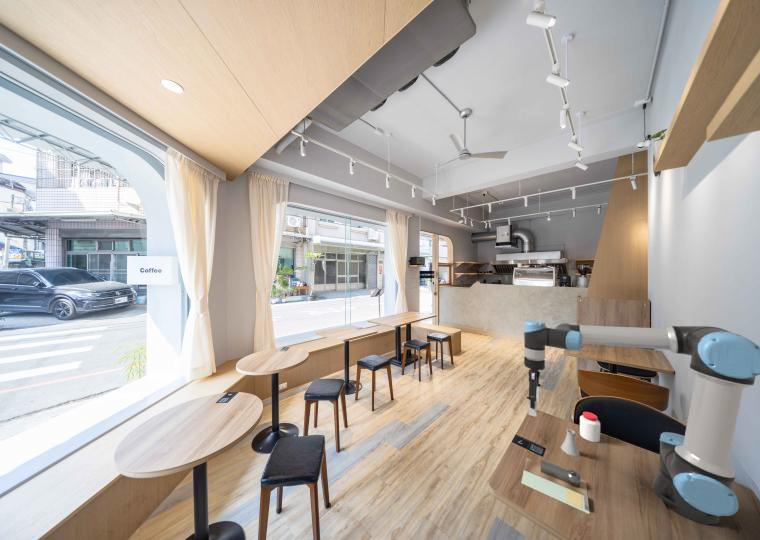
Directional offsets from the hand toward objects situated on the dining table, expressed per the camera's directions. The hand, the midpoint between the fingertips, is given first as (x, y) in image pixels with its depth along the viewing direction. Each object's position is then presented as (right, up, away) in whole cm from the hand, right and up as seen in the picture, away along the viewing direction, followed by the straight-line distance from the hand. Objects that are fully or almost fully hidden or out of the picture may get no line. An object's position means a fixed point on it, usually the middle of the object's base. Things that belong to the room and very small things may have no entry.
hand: (533, 408), depth 106 cm
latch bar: (+5, -23, -8) cm, 24 cm away
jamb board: (+4, -24, -7) cm, 25 cm away
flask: (+21, -24, +7) cm, 33 cm away
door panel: (-1, -24, -14) cm, 28 cm away
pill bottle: (+39, -25, +18) cm, 49 cm away
